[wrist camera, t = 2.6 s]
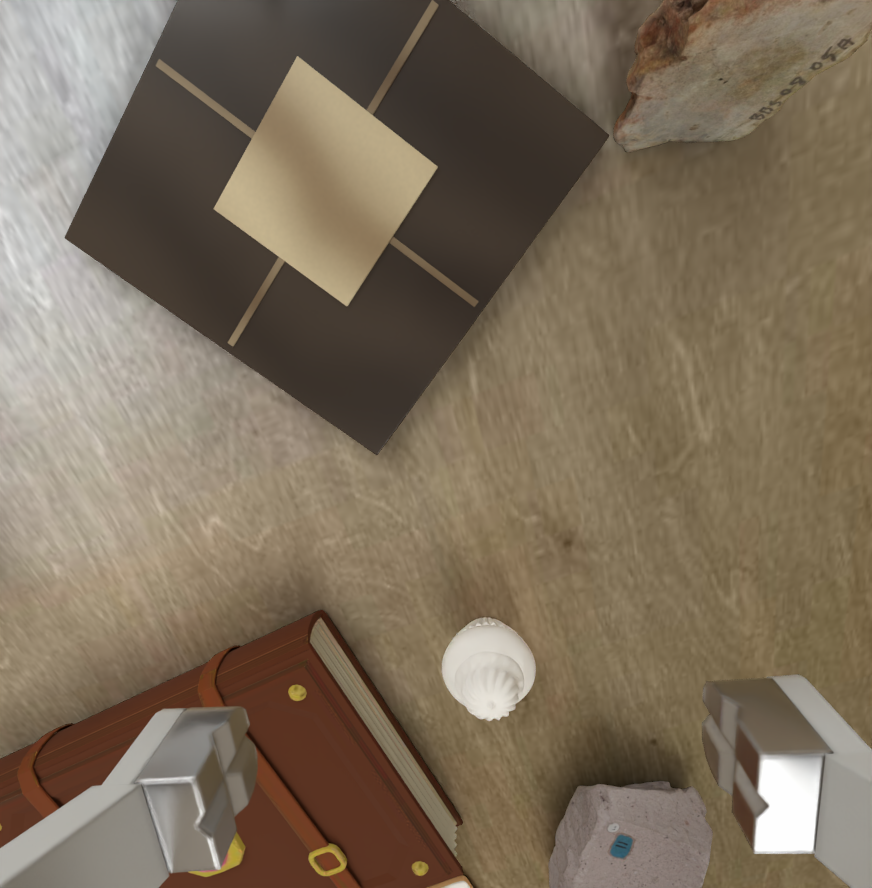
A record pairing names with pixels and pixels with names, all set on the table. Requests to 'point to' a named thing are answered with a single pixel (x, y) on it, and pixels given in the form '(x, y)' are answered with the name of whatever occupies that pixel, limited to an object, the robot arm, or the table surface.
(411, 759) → the book
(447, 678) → the muffin
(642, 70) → the rock
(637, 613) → the table surface
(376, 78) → the board
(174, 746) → the robot arm
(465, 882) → the cell phone
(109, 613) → the table surface
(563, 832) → the decorative stone
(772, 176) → the table surface
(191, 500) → the table surface
